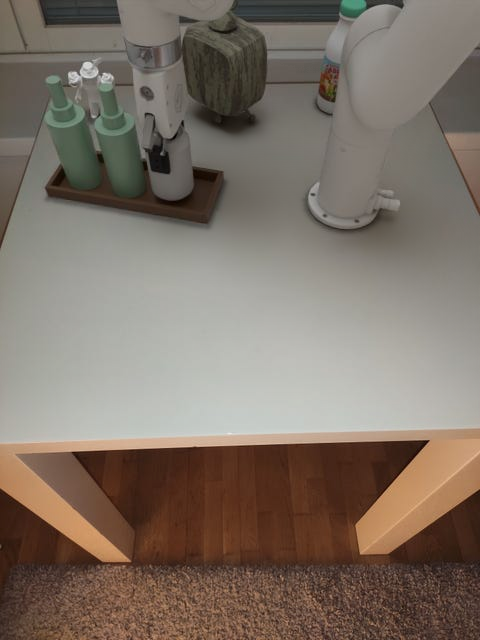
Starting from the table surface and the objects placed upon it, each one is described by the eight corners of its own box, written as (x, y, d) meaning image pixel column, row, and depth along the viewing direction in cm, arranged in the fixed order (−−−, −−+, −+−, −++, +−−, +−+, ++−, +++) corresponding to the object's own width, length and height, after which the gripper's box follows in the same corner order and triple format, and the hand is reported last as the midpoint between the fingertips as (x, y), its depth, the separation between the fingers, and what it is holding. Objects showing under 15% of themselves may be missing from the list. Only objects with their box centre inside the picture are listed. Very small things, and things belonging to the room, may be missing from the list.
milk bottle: (315, 94, 104) (331, -9, 87) (350, 95, 104) (373, -8, 87) (317, 115, 100) (334, 11, 83) (354, 116, 100) (378, 13, 83)
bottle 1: (108, 170, 89) (81, 70, 73) (95, 193, 85) (63, 94, 70) (76, 165, 90) (42, 65, 74) (62, 187, 86) (23, 88, 70)
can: (188, 207, 82) (181, 148, 72) (146, 200, 83) (134, 142, 73) (198, 178, 86) (194, 119, 76) (159, 172, 87) (149, 113, 77)
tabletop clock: (264, 121, 98) (272, -15, 77) (235, 142, 95) (236, 4, 74) (212, 94, 103) (207, -41, 82) (183, 113, 100) (170, -23, 79)
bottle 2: (151, 177, 88) (133, 78, 72) (140, 201, 85) (118, 102, 69) (119, 172, 89) (93, 72, 73) (106, 195, 85) (76, 96, 69)
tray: (223, 182, 88) (223, 170, 86) (207, 226, 82) (206, 215, 80) (75, 157, 92) (71, 146, 90) (49, 198, 86) (44, 187, 83)
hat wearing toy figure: (123, 112, 100) (111, 54, 90) (120, 124, 98) (106, 66, 88) (81, 110, 100) (64, 53, 90) (76, 122, 98) (58, 64, 88)
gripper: (160, 86, 59) (175, 195, 74) (198, 19, 68) (204, 127, 83) (103, 78, 60) (129, 187, 74) (148, 12, 69) (163, 121, 84)
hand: (168, 155), depth 79 cm, fingers closed on can, 7 cm apart
